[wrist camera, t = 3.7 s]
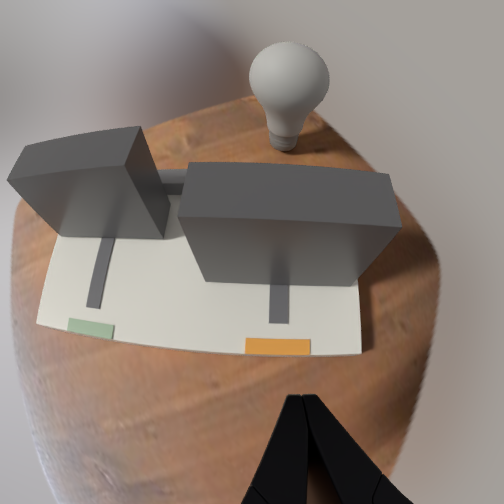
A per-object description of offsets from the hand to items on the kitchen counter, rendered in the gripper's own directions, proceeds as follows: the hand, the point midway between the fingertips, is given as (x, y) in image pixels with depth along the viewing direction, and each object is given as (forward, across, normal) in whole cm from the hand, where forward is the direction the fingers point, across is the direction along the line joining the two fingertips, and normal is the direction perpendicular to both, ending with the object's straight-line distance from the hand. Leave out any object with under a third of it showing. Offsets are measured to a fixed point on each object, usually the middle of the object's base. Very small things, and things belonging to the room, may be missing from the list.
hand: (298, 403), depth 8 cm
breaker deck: (+14, +6, +2) cm, 16 cm away
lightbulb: (+23, -1, -7) cm, 24 cm away
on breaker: (+15, +13, -2) cm, 20 cm away
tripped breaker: (+12, 0, +1) cm, 13 cm away
